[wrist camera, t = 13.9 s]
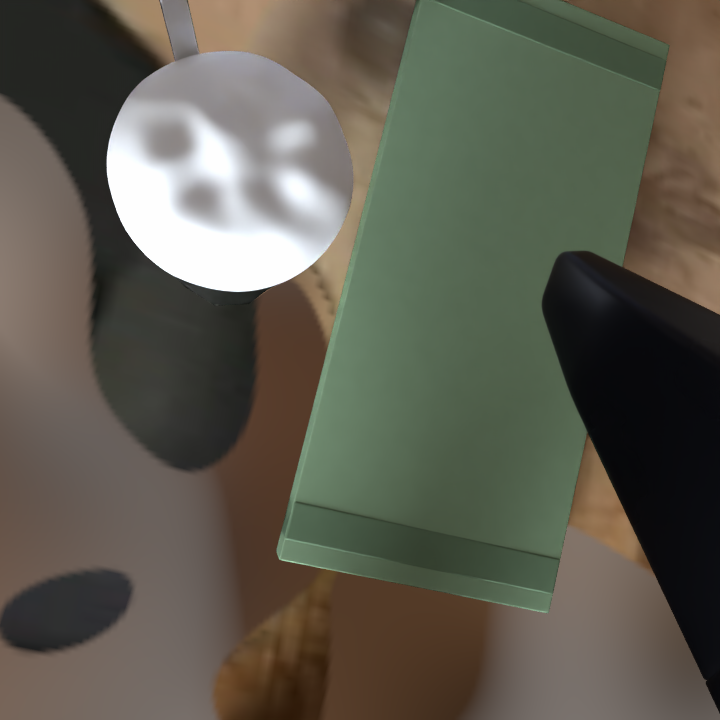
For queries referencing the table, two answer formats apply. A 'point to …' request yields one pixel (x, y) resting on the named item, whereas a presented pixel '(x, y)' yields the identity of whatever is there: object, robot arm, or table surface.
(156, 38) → the table surface
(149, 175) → the milkshake
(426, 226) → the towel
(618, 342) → the robot arm
